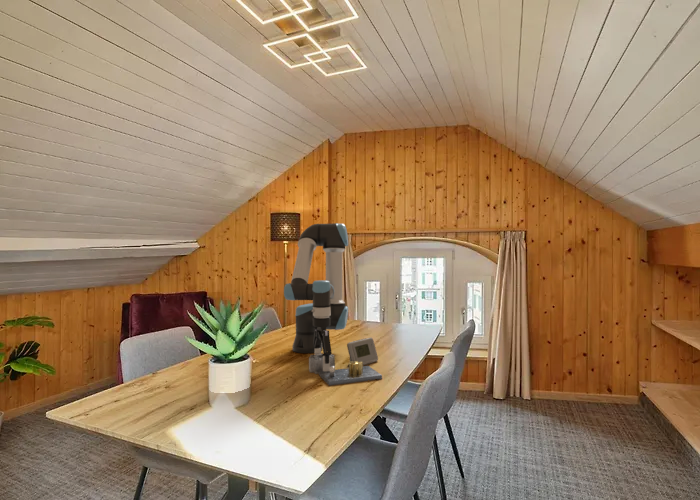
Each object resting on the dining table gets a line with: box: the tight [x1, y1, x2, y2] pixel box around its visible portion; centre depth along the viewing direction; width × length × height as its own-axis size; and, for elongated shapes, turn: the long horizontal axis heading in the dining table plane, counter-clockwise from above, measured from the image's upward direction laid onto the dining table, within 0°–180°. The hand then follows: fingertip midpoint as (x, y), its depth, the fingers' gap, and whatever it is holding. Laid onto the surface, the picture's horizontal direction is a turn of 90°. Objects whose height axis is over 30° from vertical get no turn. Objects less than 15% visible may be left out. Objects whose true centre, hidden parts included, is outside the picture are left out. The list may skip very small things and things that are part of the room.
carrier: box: [318, 360, 383, 386], centre depth 173 cm, size 14×22×6 cm, turn 110°
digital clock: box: [346, 337, 379, 366], centre depth 192 cm, size 16×9×11 cm, turn 123°
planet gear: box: [308, 352, 336, 375], centre depth 182 cm, size 11×11×6 cm
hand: (322, 367), depth 182 cm, fingers open, 13 cm apart
